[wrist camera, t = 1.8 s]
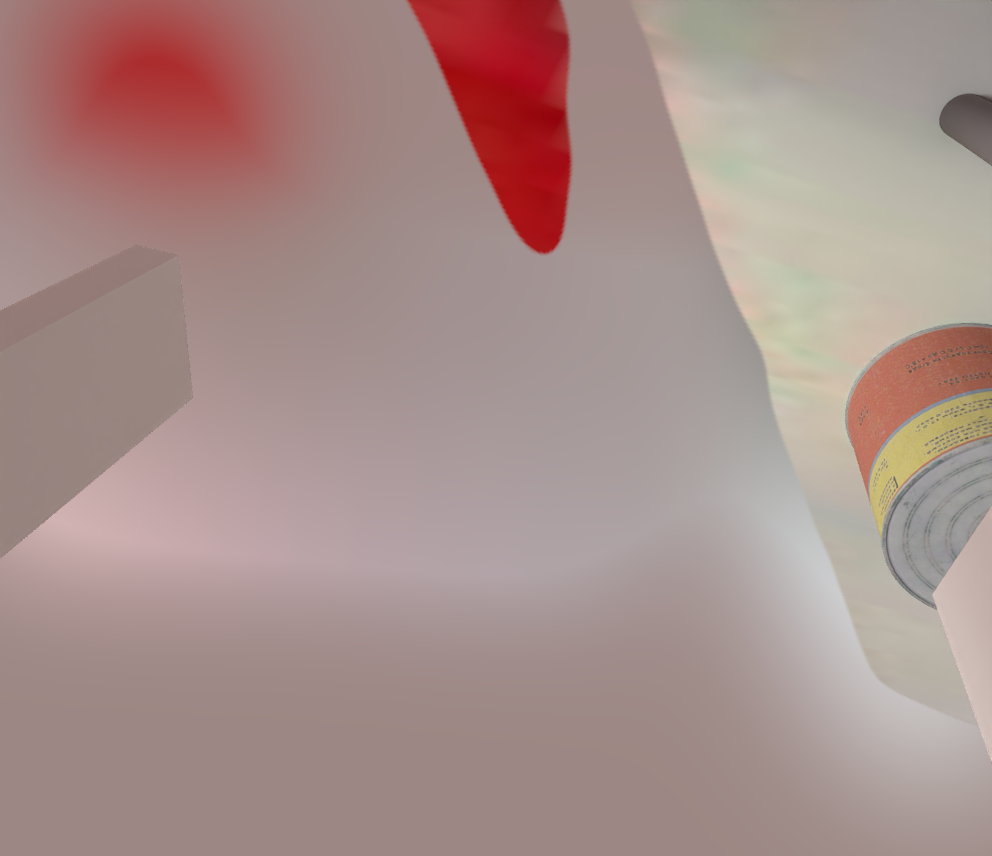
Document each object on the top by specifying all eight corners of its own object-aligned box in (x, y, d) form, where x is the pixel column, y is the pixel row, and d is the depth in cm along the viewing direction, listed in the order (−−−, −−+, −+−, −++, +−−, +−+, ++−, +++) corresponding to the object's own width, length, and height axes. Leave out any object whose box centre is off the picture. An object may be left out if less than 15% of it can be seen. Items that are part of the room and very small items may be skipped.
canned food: (830, 477, 49) (860, 606, 39) (865, 318, 43) (912, 423, 33) (1023, 494, 46) (1109, 638, 36) (1089, 328, 40) (1213, 445, 30)
